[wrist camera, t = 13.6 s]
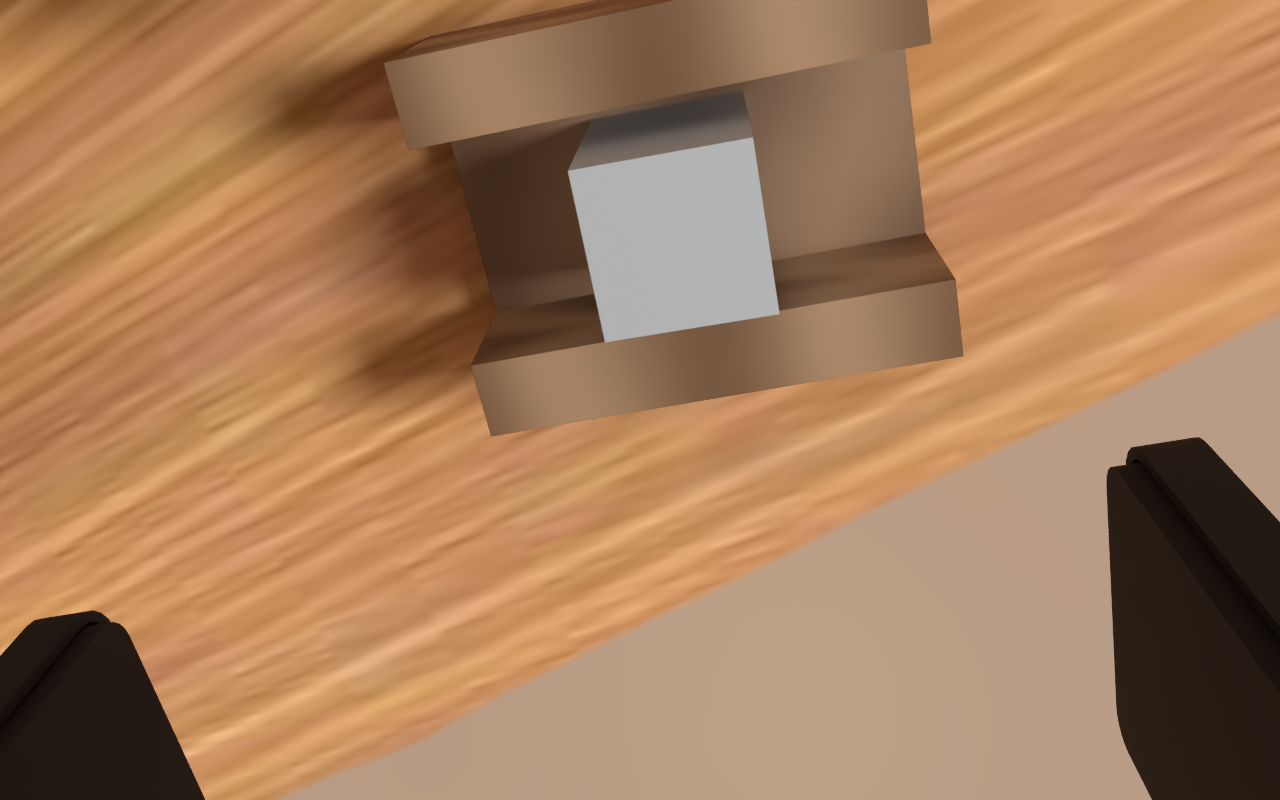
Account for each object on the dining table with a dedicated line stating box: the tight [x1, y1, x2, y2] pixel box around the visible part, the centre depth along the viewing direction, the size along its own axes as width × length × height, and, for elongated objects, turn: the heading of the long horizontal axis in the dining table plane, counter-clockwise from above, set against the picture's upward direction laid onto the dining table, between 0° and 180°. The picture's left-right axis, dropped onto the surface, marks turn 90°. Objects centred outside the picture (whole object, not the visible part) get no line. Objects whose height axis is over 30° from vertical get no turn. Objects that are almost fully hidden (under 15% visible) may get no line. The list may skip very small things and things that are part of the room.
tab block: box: [568, 91, 779, 342], centre depth 28 cm, size 4×4×6 cm
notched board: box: [384, 0, 963, 436], centre depth 29 cm, size 12×10×5 cm
